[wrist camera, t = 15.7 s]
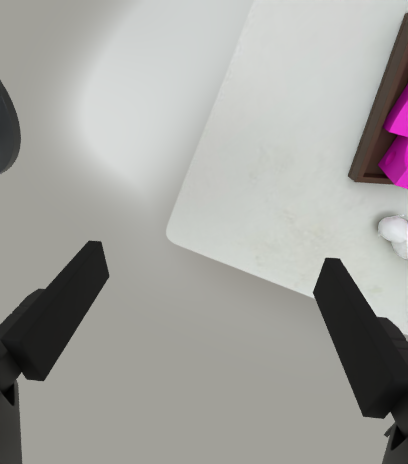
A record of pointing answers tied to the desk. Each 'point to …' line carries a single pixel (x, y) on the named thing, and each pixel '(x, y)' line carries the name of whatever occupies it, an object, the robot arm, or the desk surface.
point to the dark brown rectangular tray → (382, 115)
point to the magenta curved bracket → (397, 143)
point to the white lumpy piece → (395, 233)
